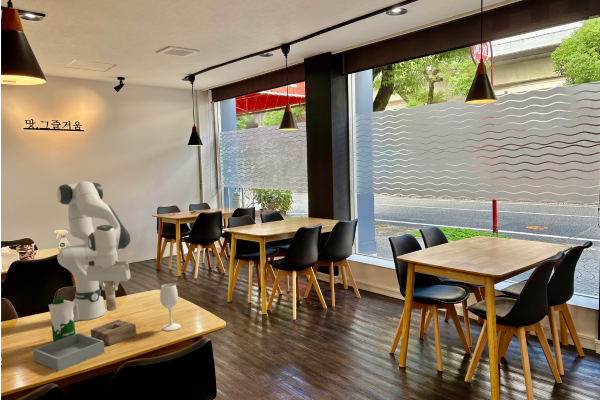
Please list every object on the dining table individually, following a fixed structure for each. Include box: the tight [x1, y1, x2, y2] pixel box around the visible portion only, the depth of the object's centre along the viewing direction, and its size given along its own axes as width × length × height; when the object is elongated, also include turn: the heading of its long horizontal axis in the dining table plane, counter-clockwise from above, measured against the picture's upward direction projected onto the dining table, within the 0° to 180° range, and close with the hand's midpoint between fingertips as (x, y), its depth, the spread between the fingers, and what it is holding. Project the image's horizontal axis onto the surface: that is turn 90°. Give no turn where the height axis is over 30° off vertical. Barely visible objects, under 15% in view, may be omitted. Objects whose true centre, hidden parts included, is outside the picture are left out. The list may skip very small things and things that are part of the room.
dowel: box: [104, 281, 117, 312], centre depth 205 cm, size 4×4×14 cm
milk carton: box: [48, 296, 77, 342], centre depth 203 cm, size 9×9×20 cm
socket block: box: [90, 319, 137, 346], centre depth 206 cm, size 14×14×5 cm
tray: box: [32, 332, 105, 372], centre depth 187 cm, size 20×20×5 cm
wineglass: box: [159, 283, 182, 332], centre depth 214 cm, size 9×9×21 cm
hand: (109, 290), depth 205 cm, fingers closed on dowel, 4 cm apart
